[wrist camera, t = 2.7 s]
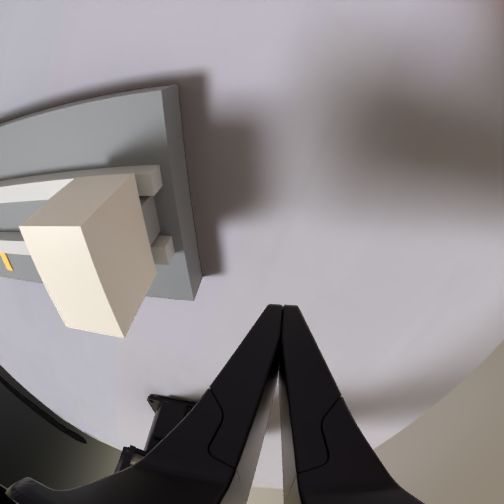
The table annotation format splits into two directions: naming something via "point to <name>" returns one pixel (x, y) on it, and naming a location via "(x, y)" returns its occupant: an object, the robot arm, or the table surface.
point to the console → (103, 163)
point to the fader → (95, 251)
